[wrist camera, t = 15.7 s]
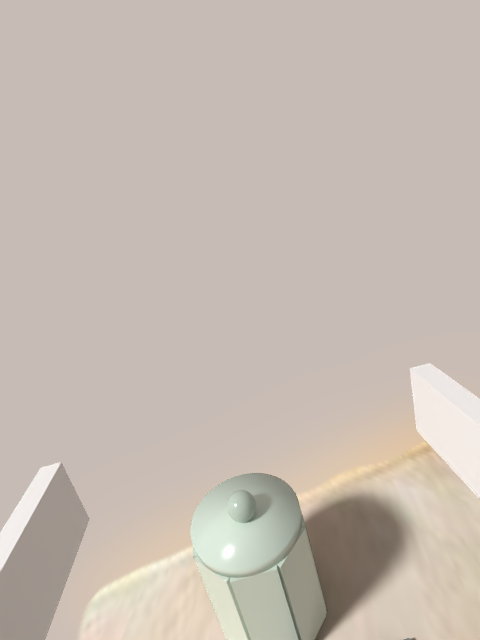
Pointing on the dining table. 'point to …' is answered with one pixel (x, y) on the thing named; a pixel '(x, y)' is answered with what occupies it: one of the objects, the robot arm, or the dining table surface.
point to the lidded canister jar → (258, 560)
